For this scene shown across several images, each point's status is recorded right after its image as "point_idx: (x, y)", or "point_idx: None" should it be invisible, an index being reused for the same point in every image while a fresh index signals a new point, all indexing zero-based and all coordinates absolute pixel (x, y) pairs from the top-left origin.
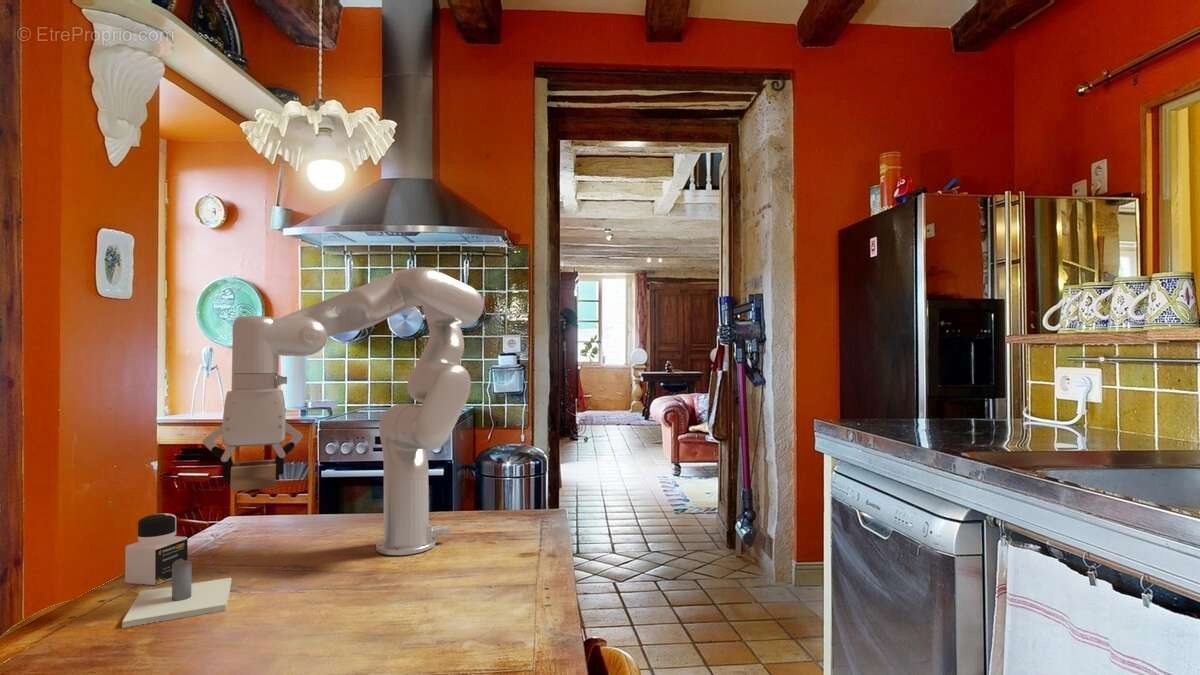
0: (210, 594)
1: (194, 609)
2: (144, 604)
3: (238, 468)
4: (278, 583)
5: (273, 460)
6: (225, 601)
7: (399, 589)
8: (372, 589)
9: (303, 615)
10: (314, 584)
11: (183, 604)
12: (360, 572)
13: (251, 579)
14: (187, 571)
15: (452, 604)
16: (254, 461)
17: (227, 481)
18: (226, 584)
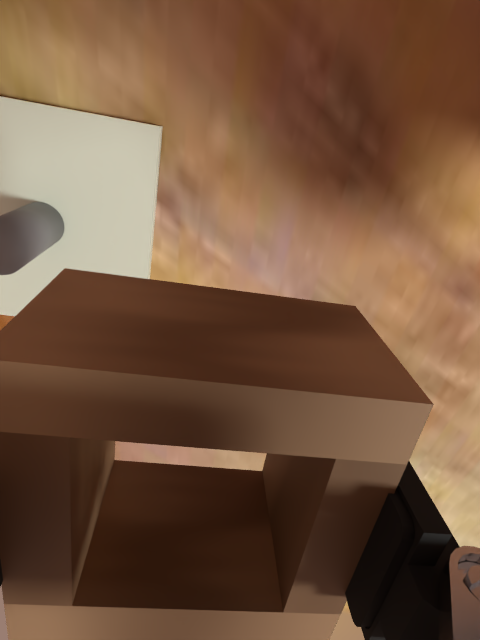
0: (109, 245)
1: None
2: None
3: (67, 636)
4: (271, 219)
5: (389, 456)
6: None
7: (454, 411)
8: (418, 384)
9: None
10: (339, 283)
11: (54, 277)
12: (455, 268)
13: (215, 130)
14: (27, 263)
15: (473, 506)
16: (211, 421)
17: None
18: (146, 186)
